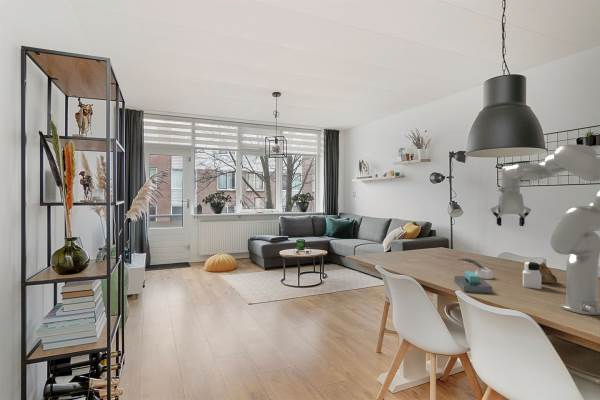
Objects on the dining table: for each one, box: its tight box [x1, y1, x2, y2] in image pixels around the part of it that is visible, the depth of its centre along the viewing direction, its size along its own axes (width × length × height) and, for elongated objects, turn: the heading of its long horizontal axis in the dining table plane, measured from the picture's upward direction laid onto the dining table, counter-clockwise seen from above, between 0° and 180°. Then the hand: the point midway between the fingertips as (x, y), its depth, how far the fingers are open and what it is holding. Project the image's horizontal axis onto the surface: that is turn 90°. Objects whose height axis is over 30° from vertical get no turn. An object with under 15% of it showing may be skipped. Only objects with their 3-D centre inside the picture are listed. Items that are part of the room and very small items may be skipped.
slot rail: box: [454, 275, 493, 294], centre depth 164 cm, size 12×20×3 cm, turn 167°
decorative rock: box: [538, 261, 558, 284], centre depth 174 cm, size 12×6×11 cm, turn 85°
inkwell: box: [456, 257, 494, 280], centre depth 186 cm, size 9×18×10 cm, turn 71°
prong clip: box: [463, 270, 479, 284], centre depth 164 cm, size 4×11×6 cm, turn 166°
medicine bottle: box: [522, 261, 542, 290], centre depth 165 cm, size 7×7×12 cm
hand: (510, 225), depth 164 cm, fingers open, 9 cm apart
